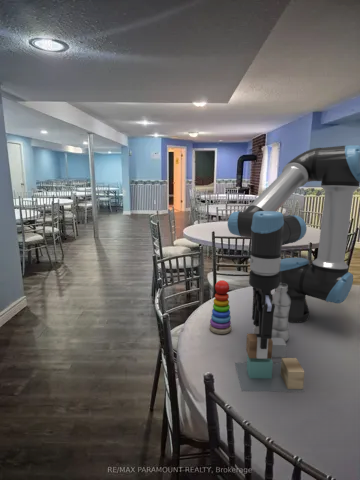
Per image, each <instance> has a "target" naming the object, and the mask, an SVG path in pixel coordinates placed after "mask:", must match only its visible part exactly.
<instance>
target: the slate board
mask: <svg viewBox="0 0 360 480" xmlns="http://www.w3.org/2000/svg"><path fill="white" fill-rule="evenodd" d="M234 365H235V369H236V374H237V378H238V382H239V385H240V389H241V392H278V393H279V392H281V393H282V392H283V393H284V392H286V393H289V392H290V393H291V392H293V393H304V392H305V390H304V388H303V389H287V387H286V385H285V383H284V380H283V378H282V376H281V362H273V365H272V379H269V378H249V375H248V372H247V362H234Z"/></svg>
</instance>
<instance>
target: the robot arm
mask: <svg viewBox="0 0 360 480" xmlns="http://www.w3.org/2000/svg"><path fill="white" fill-rule="evenodd" d="M309 182H321V183H320V188H321V189H323V191H324V199H323V208H322V215H321V216H322V217H321V225H320V231H319V232H320V233H319V234H320V235H319V242H318V250H317V258H315V259H314V260H312V262H311V264H310V260H309V259H308V258H305V257H286V258H285V257H284V258H282V256H281V255H282V246H285V245H288V244H293V243H296V242H298V241H300V240H301V239H303V238H304V237H305V235H306V233H307V223H306V221H305V220H304V219H303V218H302V217H301V216H300V215H297V214H296V215H295V214H294V215H293V214H292V215H291V214H289V215H283V212H280V211H278V210H279V209H281V207H282V206H284V204H285V202H287V201H288V199H289V198H290V197H291V196H292V195H293V194H294V193H295V192H296V191H297V190H298V189H299V188H301V187H303V186H305V185H306V184H307V183H309ZM358 189H360V145H357V144H356V145H337V146H327V147H316V148H315V147H314V148H311V149H309V150H306V151H304V152H302V153H300V154H299V155H297V156H295V157H294V158H293V159H291V160H290V161H289V162H288V163H287V164H285V166H284V167H282V170H281V173H280V174H279V175H278V177H276V178H275V179H274V181H272V182H271V183H270V185H268V187H267V188H266V189H264V191H263V192H261V193H260V194H259V196H258V197H257V198H256V199H255V200H253V202H251V203H250V205H249V206H248V207H247V208H246V209H245V210H244V211H240V210H239V211H232V213H231V214H230V215H229V217H228V219H227V228H228V231H229V233H230V234H231V235H234V236H237V237H243V238H250V240H251V241H250V258H248V259H247V262H248V263H249V269H250V271H249V275H248V278H249V279H248V283H249V285H250V286H251V287H252V312H251V313H252V315H251V320H252V321H253V322H252V324H253V325H254V326H253V333H252V334H256V337H257V355H256V357H257V358H259V359H267V354H268V339H271V338H272V326H273V313H274V309H275V304H272V300H273V296H272V295H273V294H272V291H273V290H274V293H275V292H276V288H278V286H279V283H284V284H287V285H288V291H287V293H288V295H289V297H290V298H291V305H290V310H289V316H288V323H295V324H296V323H301V322H302V323H304V322H306V321H308V319H309V317H310V310H309V307H308V303H307V299H306V296H308V297H312V298H315V299H318V300H320V301H324V302H326V303H333V304H341V303H343V302H344V301H345V300H346V299H347V297H348V296H349V293H350V291H351V290H352V287H353V284H354V283H353V282H354V275H353V273H351V272H349V265H348V264H347V263H346V261H345V257H346V252H347V251H346V250H347V243H348V236H349V235H348V234H349V227H350V219H351V212H352V205H353V204H352V203H353V196H354V193H355V191H357V190H358Z"/></svg>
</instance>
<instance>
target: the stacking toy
mask: <svg viewBox="0 0 360 480" xmlns="http://www.w3.org/2000/svg"><path fill="white" fill-rule="evenodd" d="M214 289H215V294H214V299H213V304H212V308H213V309H212V311H211V313H212V314H211V316H210V317H211V319H210V321H209V330H210V331H211V332H213V333H214V334H218V335H226V334H229V333H231V331H232V325H231V324H232V322H231V318H232V317H231V310H230V309H231V306H230V305H229V304H230V300H229V298H230V296H229V294H228V292H229V290H230V284H229V282H227V280H226V281H225V280H219V281H216V283H215V285H214Z"/></svg>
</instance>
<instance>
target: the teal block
mask: <svg viewBox="0 0 360 480" xmlns="http://www.w3.org/2000/svg"><path fill="white" fill-rule="evenodd" d="M246 363H247V372H248V375H249V378H269V379H272V365H273V363H274V362H273V360H272V358H271V359H259V358H249V357H248V354H247V355H246Z"/></svg>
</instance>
